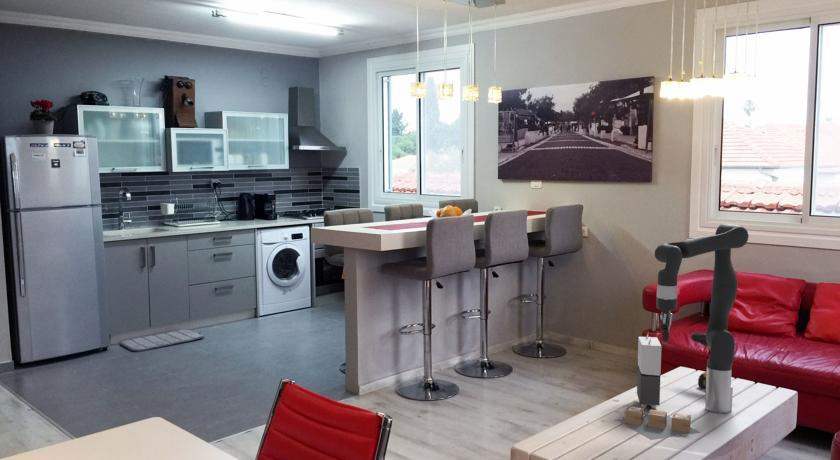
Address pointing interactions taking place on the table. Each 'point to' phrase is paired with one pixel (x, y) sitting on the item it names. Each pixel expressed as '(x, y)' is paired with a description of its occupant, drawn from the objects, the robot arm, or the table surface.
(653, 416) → the plain block
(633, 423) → the marked block 1
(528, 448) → the table surface
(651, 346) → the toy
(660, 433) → the mat
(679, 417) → the marked block 2
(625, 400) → the table surface
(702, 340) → the power drill
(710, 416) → the table surface
